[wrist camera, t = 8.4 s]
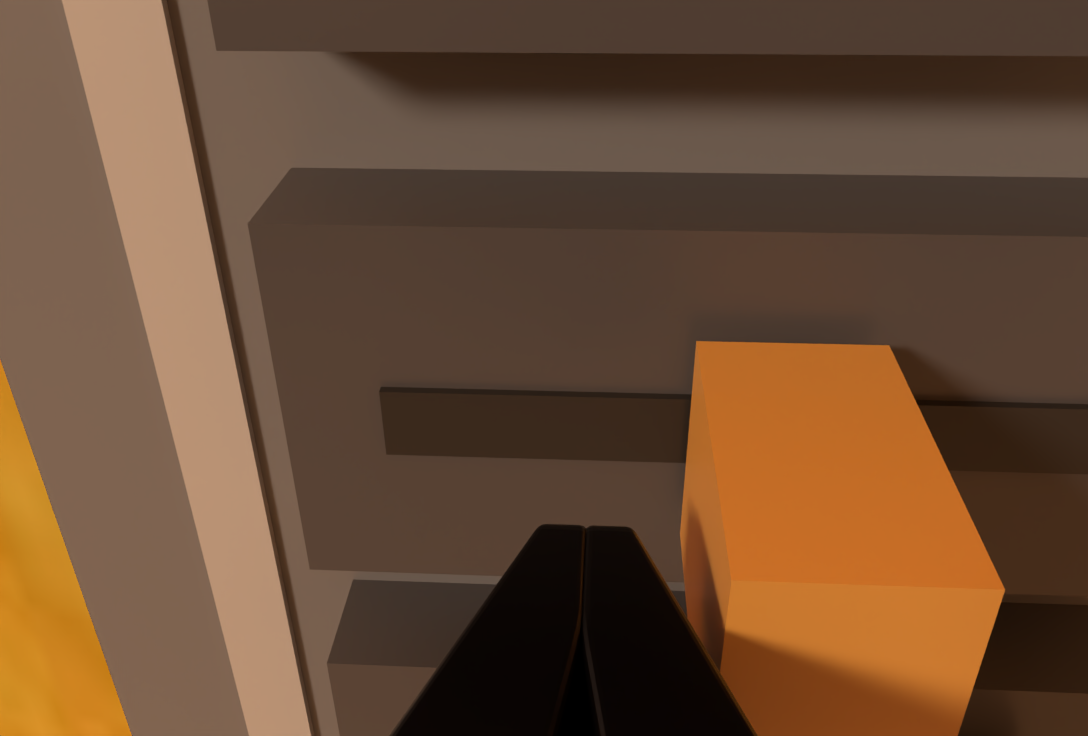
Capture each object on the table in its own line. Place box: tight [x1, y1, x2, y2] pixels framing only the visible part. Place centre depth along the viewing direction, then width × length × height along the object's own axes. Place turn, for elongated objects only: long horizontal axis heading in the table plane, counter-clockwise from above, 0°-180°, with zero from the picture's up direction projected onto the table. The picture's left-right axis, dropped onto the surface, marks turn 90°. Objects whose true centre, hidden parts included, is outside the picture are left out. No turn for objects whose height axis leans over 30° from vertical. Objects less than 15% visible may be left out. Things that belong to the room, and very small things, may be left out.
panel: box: [0, 0, 1088, 736], centre depth 11 cm, size 17×20×4 cm
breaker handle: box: [680, 341, 1005, 736], centre depth 9 cm, size 2×2×3 cm
